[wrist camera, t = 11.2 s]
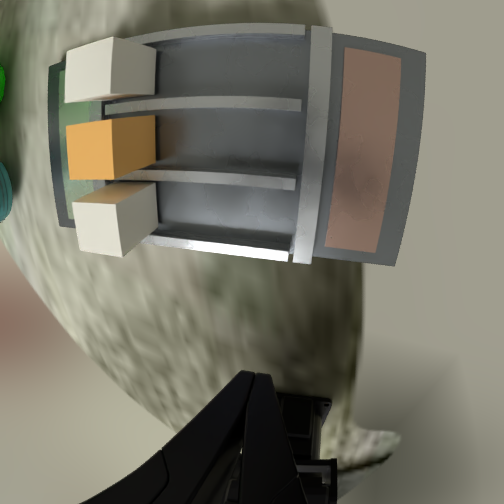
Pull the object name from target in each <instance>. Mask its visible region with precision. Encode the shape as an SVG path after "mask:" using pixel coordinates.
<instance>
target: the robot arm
mask: <svg viewBox="0 0 504 504" xmlns="http://www.w3.org/2000/svg"><path fill="white" fill-rule="evenodd" d="M331 406H332V400H331V399H326V398H315V397H305V396H295V395H287V394H279V393H276V392H275V388H274V385H273V381H272V377H271V375H270V374H265V373H256V375H255V373H254V372H251V371H245V370H241V371H240V372H239V373H238V374H237V375H236V376H235V377H234V378H233V379H232V380H231V381H230V382H229V383H228V384H227V385H226V386H225V387H224V388H223V389H222V390H221V391H220V392H219V393H218V394H217V395H216V396H215V397H214V398H213V399H212V400H211V401H210V402H209V403H208V404H207V405H206V406H205V407H204V408H203V409H202V410H201V411H200V412H199V413H198V414H197V415H196V416H195V417H194V418H193V419H192V420H191V421H190V422H189V423H188V424H187V425H186V426H185V427H184V428H183V429H181V430H180V431H179V432H178V433H177V434H176V435H175V436H174V437H173V438H172V439H171V440H170V441H169V442H168V443H166V445H164V446H163V447H162V450H159V451H158V452H157V453H155V454H154V455H153V456H152V457H151V458H150V459H149V460H147V461H146V462H145V463H144V464H142V465H141V466H140V467H139V468H137V469H136V470H135V471H133V472H132V473H130V474H129V475H127V476H126V477H124V478H123V479H121V480H120V481H118V482H117V483H115V484H113V485H112V486H110V487H109V488H107V489H105V490H103V491H102V492H100V493H98V494H97V495H95V496H93V497H91V498H90V499H88V500H86V501H84V502H82V503H79V504H337V458H331V459H320V444H321V428H322V426H323V424H324V422H325V420H326V417H327V415H328V413H329V411H330V408H331ZM241 449H242V454H241V453H240V451H241ZM322 482H325V483H324V484H322Z"/></svg>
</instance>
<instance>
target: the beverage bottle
mask: <svg viewBox="0 0 504 504" xmlns="http://www.w3.org/2000/svg"><path fill="white" fill-rule="evenodd" d="M11 207H12V187H11V182H10V179H9V176H8V173H7V171H6V169H5V167H4V165H3V164H2V163H1V162H0V223H1V221H2V220H5V218H6V217H7V216H8V215H9V213H10V211H11Z"/></svg>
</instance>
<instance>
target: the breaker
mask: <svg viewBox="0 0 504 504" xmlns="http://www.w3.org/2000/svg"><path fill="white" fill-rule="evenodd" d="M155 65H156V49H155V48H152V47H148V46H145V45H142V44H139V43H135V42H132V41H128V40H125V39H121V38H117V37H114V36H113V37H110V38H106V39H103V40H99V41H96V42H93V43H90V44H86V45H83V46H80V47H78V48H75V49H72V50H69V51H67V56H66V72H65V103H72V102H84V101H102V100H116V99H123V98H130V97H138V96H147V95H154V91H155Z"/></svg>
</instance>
